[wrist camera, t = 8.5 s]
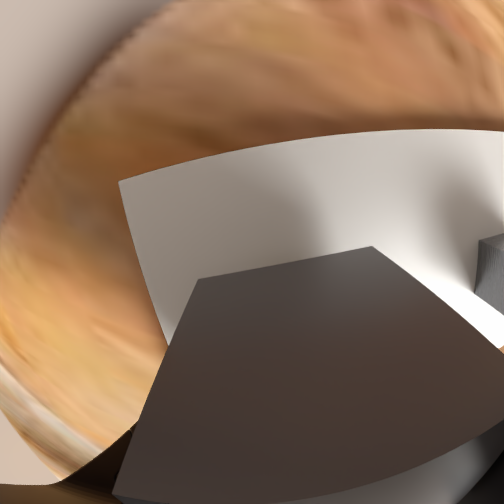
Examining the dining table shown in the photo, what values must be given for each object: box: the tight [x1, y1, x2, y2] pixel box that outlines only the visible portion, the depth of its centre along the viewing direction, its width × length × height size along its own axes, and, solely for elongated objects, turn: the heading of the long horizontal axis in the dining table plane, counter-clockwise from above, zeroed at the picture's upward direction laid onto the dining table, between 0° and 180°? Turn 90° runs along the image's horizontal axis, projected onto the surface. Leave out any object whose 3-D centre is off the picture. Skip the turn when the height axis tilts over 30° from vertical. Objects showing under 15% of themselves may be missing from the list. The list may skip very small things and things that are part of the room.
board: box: [118, 129, 504, 348], centre depth 11 cm, size 20×12×1 cm, turn 101°
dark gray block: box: [112, 246, 504, 504], centre depth 6 cm, size 5×5×7 cm
